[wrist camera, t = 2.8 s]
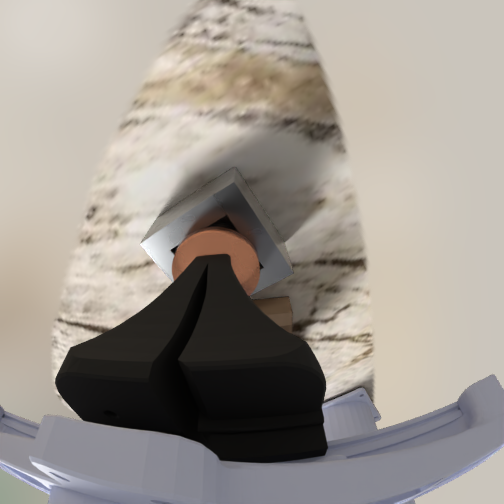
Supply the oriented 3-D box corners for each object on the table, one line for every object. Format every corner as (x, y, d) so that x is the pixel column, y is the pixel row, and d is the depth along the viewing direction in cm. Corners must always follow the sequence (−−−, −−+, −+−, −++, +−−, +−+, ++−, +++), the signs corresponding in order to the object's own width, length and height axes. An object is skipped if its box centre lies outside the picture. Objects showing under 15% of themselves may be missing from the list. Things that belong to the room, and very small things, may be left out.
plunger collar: (284, 243, 16) (293, 272, 13) (209, 284, 17) (205, 318, 14) (235, 166, 14) (233, 181, 11) (156, 218, 15) (139, 244, 12)
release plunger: (268, 245, 15) (276, 284, 12) (211, 276, 16) (206, 319, 13) (230, 189, 13) (227, 215, 10) (171, 226, 14) (154, 261, 11)
